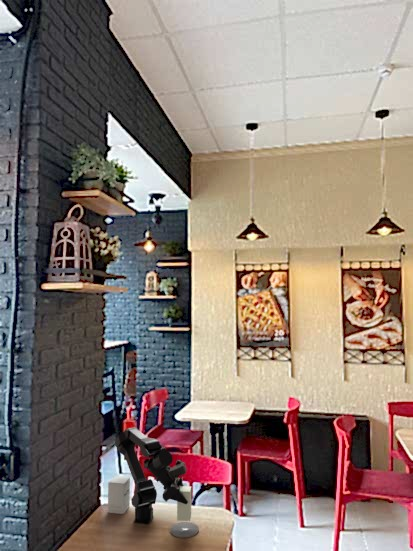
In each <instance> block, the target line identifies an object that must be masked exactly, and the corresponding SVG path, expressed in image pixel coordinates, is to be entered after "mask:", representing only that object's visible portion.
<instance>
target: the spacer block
mask: <svg viewBox="0 0 413 551" xmlns="http://www.w3.org/2000/svg"><path fill="white" fill-rule="evenodd" d="M180 491H181V493H182V494H183V495H184V497H185V498H186V500H187V501H188V503H187V504H184V503H181V502H178V501H176V504H177V505H176V516H177V517H176V521H179V522H190V521H191V518H192V486H188V485H184V486H180Z"/></svg>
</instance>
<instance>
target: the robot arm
mask: <svg viewBox="0 0 413 551" xmlns="http://www.w3.org/2000/svg"><path fill="white" fill-rule="evenodd" d="M114 445H115V447H116V449H117V451H118V453H120V454H121V455H123V457H124V458H125V461H126V463H127V464H126V465H127V466H128V469H129V472H130V474H131V476H132V480H133V482H134V491H133V494H134V495H133V496H132V498H130V499H131V500H130V502H131V505H132V507H134V519H133V523H136V524H137V523H138V524H145V525H148V524H149V523H151V521H152V520H153V519H154V508H153V505H155V504H156V500H157V495H158V494H157V489H156V487H155V485H154V482H153V480H152V479H147V478H146V475H145V472H144V469H147V470H148V471H149V472H150V473H151V474H152V475H153V476H154V477H155V478H156V479H155V481H156V482H157V483H159V482H160V484H161V485H162V486H163V492H162V499H163V501H164V502H165V503H167V502H168V501H169V500H172V501H175V502H177V501H178V502H181V503H184V504H187V503H188V501H187V500H186V498H185V497H184V495H183V494H182V493H181V491H180V486H185V485H184V483H183V478H184V477H183V475H185V474H186V473H187V471H188V468H187V467H186V463H185V462H184V461H182V460H180V459H178V460H176V462H175V465H173V467H171V466H170V465H171V464H172V463H173V459H174V458H173V455H172V453H171V452H170V451H169V450H167V449H166V447H164V446H163V444H162V442H160V441H159V440H158V439H157V438H152V437H149V436H146V435H145V434H144V433H143V432H141V431H140V430H139V429H138V428H137V427H135V426H134V427H128V428H126V429H125V430H124V431H122V432H121V433H119V434H118V435H117V436H116V437H115V439H114ZM136 446H137V447H139V449H140V450H139V452H140V453H141V455H142V456H143V457H145V458H146V459H145V460H144V461H143V468H144V469H143V468H142V466H141V463H140V460H139V458H138V456H137V453H136Z"/></svg>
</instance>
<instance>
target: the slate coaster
mask: <svg viewBox="0 0 413 551" xmlns="http://www.w3.org/2000/svg"><path fill="white" fill-rule="evenodd" d="M169 529H170V534H171V535H172V536H174V537H177V538H181V539H182V538H184V539H185V538H192V537H194V536H197V534H198V533H199V530H200V529H199V526H198V525H197V524H195V523H193V522H190V521H180V522H177V523H175V524H173V525H172V526H171V527H170V528H169Z"/></svg>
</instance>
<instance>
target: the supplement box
mask: <svg viewBox="0 0 413 551" xmlns="http://www.w3.org/2000/svg"><path fill="white" fill-rule="evenodd" d="M130 478H131V477H128V476H114V477H112V478H111V480H110V481H109V482H108V483H107V484H108V485H107V488H108V490H107V495H108V496H107V513H110V514H120V515H124V514H125V513H126V511H127V510H128V509H129V508H130V502H131V500H130V499H131V498H130V495H131V493H130V492H131V488H130V487H131V486H130V484H131V479H130Z"/></svg>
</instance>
